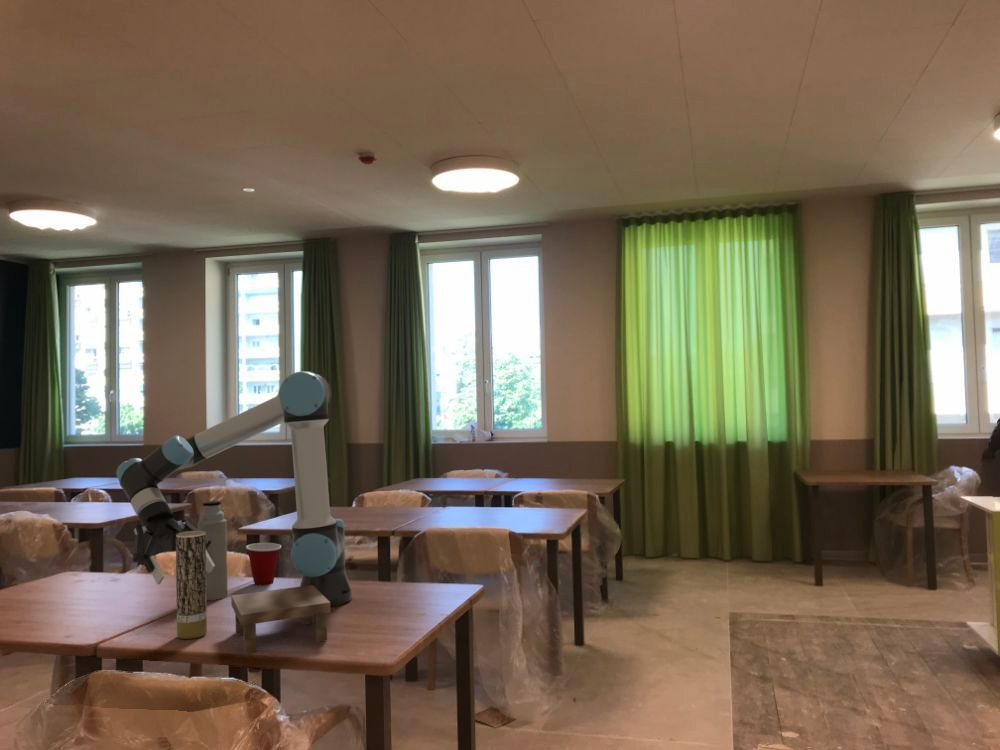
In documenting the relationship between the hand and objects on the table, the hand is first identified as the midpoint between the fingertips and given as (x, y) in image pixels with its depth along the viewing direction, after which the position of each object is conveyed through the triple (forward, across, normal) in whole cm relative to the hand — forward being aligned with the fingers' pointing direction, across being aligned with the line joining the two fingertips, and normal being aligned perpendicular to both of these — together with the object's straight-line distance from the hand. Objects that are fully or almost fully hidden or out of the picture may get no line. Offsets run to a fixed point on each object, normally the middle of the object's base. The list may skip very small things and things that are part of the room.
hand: (187, 575), depth 185 cm
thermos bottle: (-9, -26, -30) cm, 41 cm away
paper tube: (+11, 0, -10) cm, 15 cm away
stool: (+25, -11, +4) cm, 28 cm away
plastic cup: (-10, -45, -31) cm, 56 cm away
